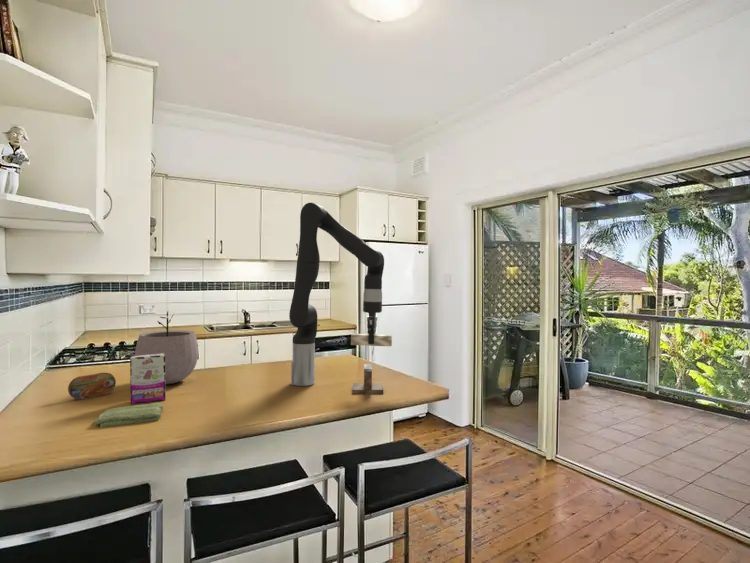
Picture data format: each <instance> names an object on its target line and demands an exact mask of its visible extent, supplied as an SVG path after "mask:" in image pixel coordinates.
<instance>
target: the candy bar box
mask: <svg viewBox="0 0 750 563" xmlns="http://www.w3.org/2000/svg"><path fill="white" fill-rule="evenodd" d="M129 364H130V365H129V369H130V374H129V375H130V378H129V379H130V381H129V382H130V400H129V401H130V404H131V405H136V404H137V405H138V404H145V403H155V402H160V401H166V384H165V353H163V354H150V355H137V356H135V355H131V356H130V357H129Z"/></svg>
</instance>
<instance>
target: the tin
mask: <svg viewBox="0 0 750 563" xmlns="http://www.w3.org/2000/svg"><path fill="white" fill-rule="evenodd" d="M116 383H117V382H116V378H115V376H114V375H113V374H112V373H109V372H99V373H93V374H86V375H80V376H77V377H74V378H73V379H72V380H71V381H70V383H69V384H68V385H67V387H68V388H67V392H68V394H69V395H70V397H72V399H76V400H78V401H83V400H87V399H88V400H89V399H92V398H97V397H101V396H106V395H108V394H110V393H111V392H112V391H114V389H115V387H116Z"/></svg>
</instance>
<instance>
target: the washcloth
mask: <svg viewBox="0 0 750 563" xmlns="http://www.w3.org/2000/svg"><path fill="white" fill-rule="evenodd" d="M163 410H164V405H163V404H162V403H161V402H150V403H148V404H137V405H136V404H133V405H127V406H119V407H113V408H108V409H106V410H104V412H103V413H101V414H99V415H98V418H96V419H95V420H94V425H100V426H99V427H100V428H106V427H107V428H108V427H115V426H123V425H133V424H139V423H149V422H154V421H155V422H156V421H159V420H160V419H161V417H162V412H163Z"/></svg>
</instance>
